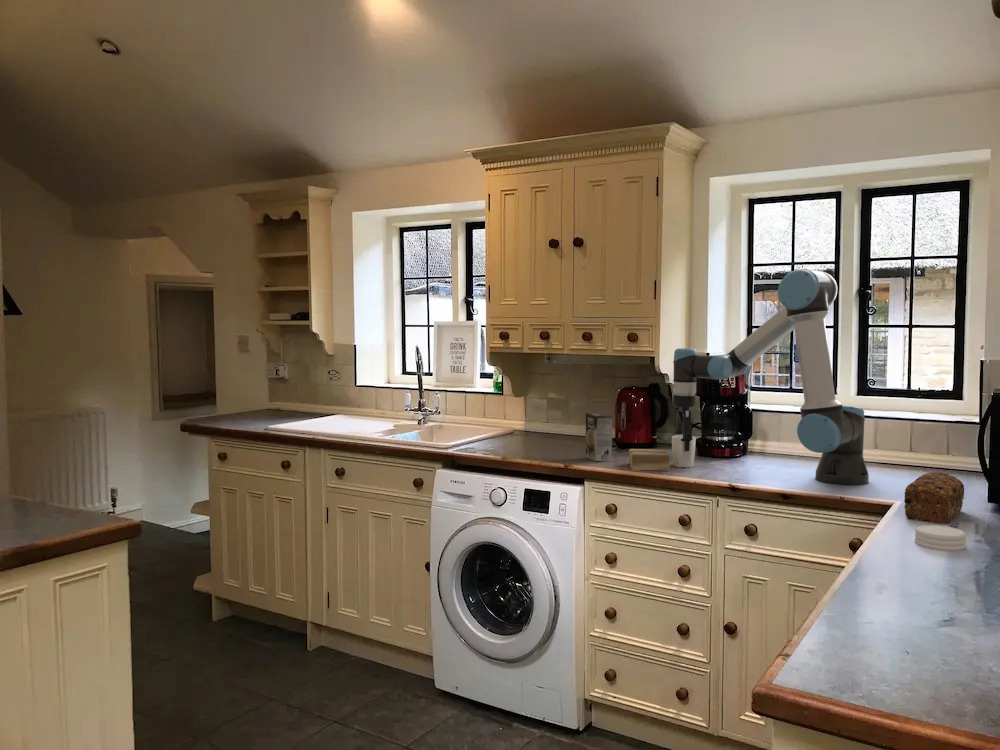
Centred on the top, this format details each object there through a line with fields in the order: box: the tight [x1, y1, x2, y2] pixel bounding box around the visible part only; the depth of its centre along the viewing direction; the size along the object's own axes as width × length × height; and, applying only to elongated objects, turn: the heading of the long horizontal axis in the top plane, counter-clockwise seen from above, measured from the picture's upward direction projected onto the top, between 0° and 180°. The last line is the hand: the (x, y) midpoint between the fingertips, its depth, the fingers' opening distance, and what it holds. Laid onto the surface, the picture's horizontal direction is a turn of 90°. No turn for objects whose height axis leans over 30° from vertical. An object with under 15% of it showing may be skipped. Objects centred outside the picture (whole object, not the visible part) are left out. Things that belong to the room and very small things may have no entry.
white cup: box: [671, 434, 697, 468], centre depth 273 cm, size 8×8×10 cm
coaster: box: [914, 524, 967, 552], centre depth 179 cm, size 10×10×4 cm
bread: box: [903, 471, 965, 525], centre depth 206 cm, size 19×11×10 cm, turn 139°
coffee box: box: [585, 412, 613, 462], centre depth 286 cm, size 9×6×16 cm
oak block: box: [628, 448, 670, 472], centre depth 272 cm, size 12×12×5 cm
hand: (682, 456), depth 274 cm, fingers open, 13 cm apart
